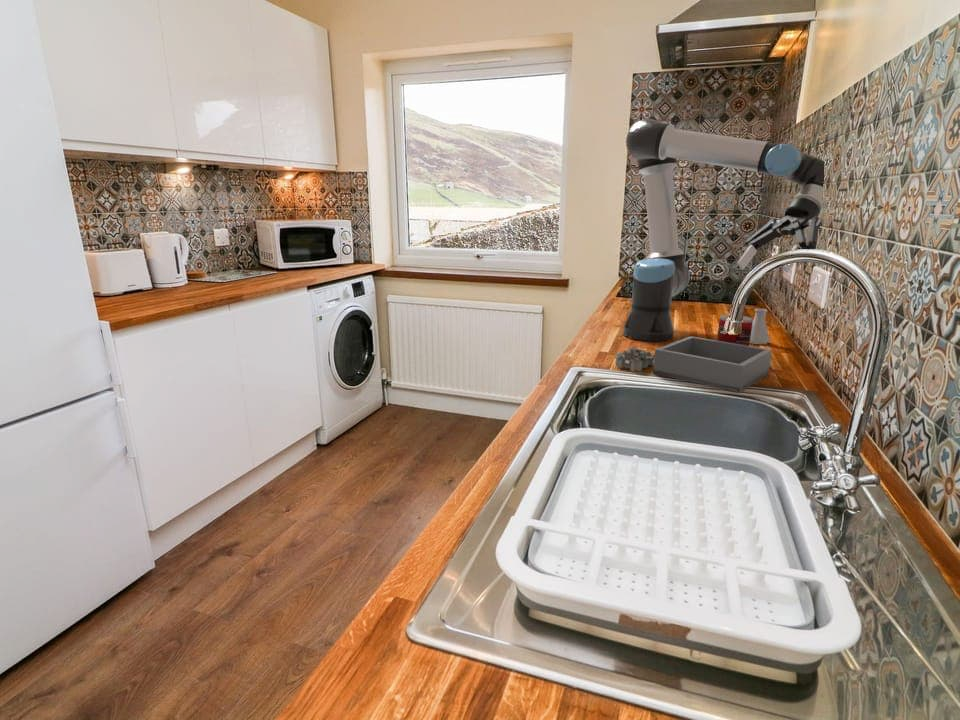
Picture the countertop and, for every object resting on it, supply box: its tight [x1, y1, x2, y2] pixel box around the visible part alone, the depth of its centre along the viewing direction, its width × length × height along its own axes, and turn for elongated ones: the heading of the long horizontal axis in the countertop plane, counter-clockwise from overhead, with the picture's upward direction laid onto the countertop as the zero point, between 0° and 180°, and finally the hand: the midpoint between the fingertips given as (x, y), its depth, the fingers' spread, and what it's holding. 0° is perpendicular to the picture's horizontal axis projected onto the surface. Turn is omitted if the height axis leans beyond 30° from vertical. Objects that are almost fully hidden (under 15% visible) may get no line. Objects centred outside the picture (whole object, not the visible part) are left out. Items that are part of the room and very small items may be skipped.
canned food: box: [716, 314, 754, 346], centre depth 144 cm, size 8×8×11 cm
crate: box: [652, 335, 773, 393], centre depth 130 cm, size 20×20×6 cm
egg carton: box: [614, 346, 655, 372], centre depth 137 cm, size 11×8×4 cm
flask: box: [750, 308, 772, 345], centre depth 162 cm, size 7×7×10 cm
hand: (761, 267), depth 143 cm, fingers open, 13 cm apart
